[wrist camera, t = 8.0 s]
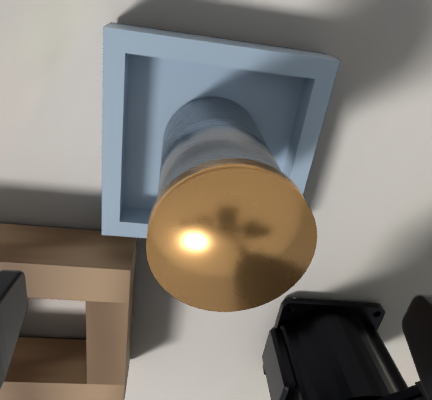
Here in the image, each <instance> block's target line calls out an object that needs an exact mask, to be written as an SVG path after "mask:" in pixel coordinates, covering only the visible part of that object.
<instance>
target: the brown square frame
mask: <svg viewBox="0 0 432 400" xmlns="http://www.w3.org/2000/svg"><path fill="white" fill-rule="evenodd" d="M136 242H137V238H135V237H122V236H109V235H102V231H94V230H81V229H68V228H55V227H42V226H29V225H17V224H4V223H0V271H1V270H20V271H22V272H24V274H25V279H26V288H27V298H41V299H59V300H77V301H86V340H75V339H51V338H27V337H18V339H17V342H16V346H15V349H14V352H13V355H12V358H11V362H10V365H9V368H8V371H7V374H6V377H5V380H4V382H3V385H2V387H1V389H0V400H124V398H125V391H126V384H127V377H128V370H129V361H130V344H131V327H132V310H133V293H134V276H135V259H136Z"/></svg>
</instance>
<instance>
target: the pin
mask: <svg viewBox="0 0 432 400" xmlns="http://www.w3.org/2000/svg"><path fill="white" fill-rule="evenodd" d="M316 242H317V228H316V223H315V219H314V216H313V214H312V211H311V209H310V207H309V206H308V204H307V202H306V200H305V199H304V197H303V195H302V194H301V192H300V190H299V189H298V187H297V186H296V185H295V184H294V183H293V181H292V180H291V179H290V178H288V177H287V176H286V175H285V174H284V173H282V171H281V169H280V168H279V166H278V164H277V162H276V160H275V158H274V156H273V155H272V153H271V151H270V149H269V147H268V145H267V144H266V142H265V140H264V138H263V136H262V134H261V132H260V131H259V129H258V127H257V125H256V123H255V121H254V120H253V118H252V116H251V115H250V114H249V113H248V111H247V110H245V109H244V108H243V107H242V106H241V105H239V104H238V103H236V102H234V101H232V100H229V99H226V98H222V97H203V98H198V99H195V100H192V101H190V102H188V103H186V104H185V105H183V106H182V107H181V108H179V109H178V110H177V111H176V112H175V113H174V115H173V116H172V117H171V119H170V120H169V122H168V124H167V126H166V128H165V131H164V136H163V144H162V155H161V166H160V177H159V188H158V198H157V200H156V202H155V204H154V206H153V208H152V211H151V214H150V217H149V223H148V230H147V238H146V255H147V261H148V264H149V267H150V269H151V271H152V273H153V275H154V277H155V279H156V280H157V281H158V283H159V284H160V285H161V286H162V287H163V288H164V289H165V290H166V291H167V292H168V293H169V294H171V295H172V296H173V297H175V298H176V299H178V300H180V301H181V302H183V303H185V304H188V305H190V306H193V307H196V308H199V309H204V310H208V311H217V312H232V311H241V310H246V309H251V308H254V307H257V306H260V305H263V304H265V303H268V302H270V301H272V300H274V299H276V298H278V297H279V296H281V295H282V294H284V293H285V292H286V291H288V290H289V289H290V288H291V287H292V286H294V285H295V283H296V282H297V281H298V280H299V279H300V278H301V277H302V276H303V274H304V273H305V272H306V270H307V268H308V266H309V265H310V263H311V260H312V258H313V256H314V252H315V248H316Z"/></svg>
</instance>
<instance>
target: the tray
mask: <svg viewBox="0 0 432 400" xmlns="http://www.w3.org/2000/svg"><path fill="white" fill-rule="evenodd" d="M339 63H340V61H339V60H337V59H335V58H333V57H331V56H329V55H327V54H324V53H318V52H311V51H304V50H297V49H290V48H283V47H277V46H270V45H263V44H256V43H249V42H242V41H235V40H229V39H222V38H215V37H208V36H201V35H194V34H188V33H181V32H174V31H167V30H160V29H153V28H147V27H140V26H133V25H126V24H119V23H112V22H111V23H109V24H107V25H106V26H104V27H103V123H102V235H109V236H122V237H135V238H147V230H148V223H149V217H150V214H151V211H152V208H153V206H154V204H155V202H156V200H157V198H158V188H159V177H160V166H161V155H162V144H163V136H164V131H165V128H166V126H167V124H168V122H169V120H170V119H171V117H172V116H173V115H174V113H175V112H176V111H177V110H178V109H179V108H181V107H182V106H183V105H185V104H186V103H188V102H190V101H192V100H195V99H198V98H203V97H222V98H226V99H229V100H232V101H234V102H236V103H238V104H239V105H241V106H242V107H243V108H244V109H245V110H247V111H248V113H249V114H250V115H251V116H252V118H253V120H254V121H255V123H256V125H257V127H258V129H259V131H260V132H261V134H262V136H263V138H264V140H265V142H266V144H267V145H268V147H269V149H270V151H271V153H272V155H273V156H274V158H275V160H276V162H277V164H278V166H279V168H280V169H281V171H282V173H284V174H285V175H286V176H287V177H288V178H290V179H291V180H292V181H293V183H294V184H295V185H296V186H297V187H298V189H299V190H300V192H301V194H302V195H303V192H304V189H305V185H306V182H307V178H308V174H309V171H310V167H311V164H312V160H313V157H314V153H315V149H316V146H317V142H318V139H319V135H320V131H321V128H322V124H323V121H324V117H325V113H326V110H327V106H328V103H329V99H330V96H331V92H332V88H333V85H334V81H335V78H336V74H337V70H338V67H339Z"/></svg>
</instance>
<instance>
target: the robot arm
mask: <svg viewBox="0 0 432 400" xmlns="http://www.w3.org/2000/svg"><path fill="white" fill-rule="evenodd" d="M27 304H28V298H27V288H26V279H25V274H24V272H22V271H20V270H1V271H0V389H1V387H2V385H3V382H4V380H5V377H6V374H7V371H8V368H9V365H10V362H11V358H12V355H13V352H14V349H15V346H16V342H17V339H18V336H19V333H20V330H21V326H22V323H23V320H24V317H25V314H26V310H27ZM289 306H292V307H290V308H287V307H289ZM384 314H385V311H384V309H383V307H382V306H381V305H380V304H377V303H362V302H345V301H329V300H312V299H295V298H288V299H285V300H284V301H283V302H282V303H281V306H280V309H279V312H278V316H277V319H276V323H275V326H274V327H273V328H272V329H271V330H270V331H269V335H268V338H267V342H266V345H265V349H264V352H263V356H262V359H263V371H264V374H265V375H266V378H267V382H268V387H269V392H270V397H271V400H432V296H431V295H416V296H415V297H414V298H413V299H412V301H411V303H410V305H409V307H408V309H407V311H406V313H405V315H404V317H403V320H402V328H403V332H404V335H405V338H406V340H407V343H408V346H409V349H410V352H411V355H412V358H413V361H414V364H415V367H416V370H417V372H418V375H419V378H420V381H418V382H416V383H415V384H416V385H414V386H411V387H408V386H407V384H406V382H405V381H404V379H403V377H402V375H401V374H400V372H399V370H398V368H397V366H396V365H395V363H394V361H393V359H392V357H391V356H390V354H389V352H388V350H387V348H386V347H385V345H384V343H383V341H382V339H381V338H380V336H379V334H378V332H377V330H378V327H379V325H380V323H381V321H382V319H383V317H384Z"/></svg>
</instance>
